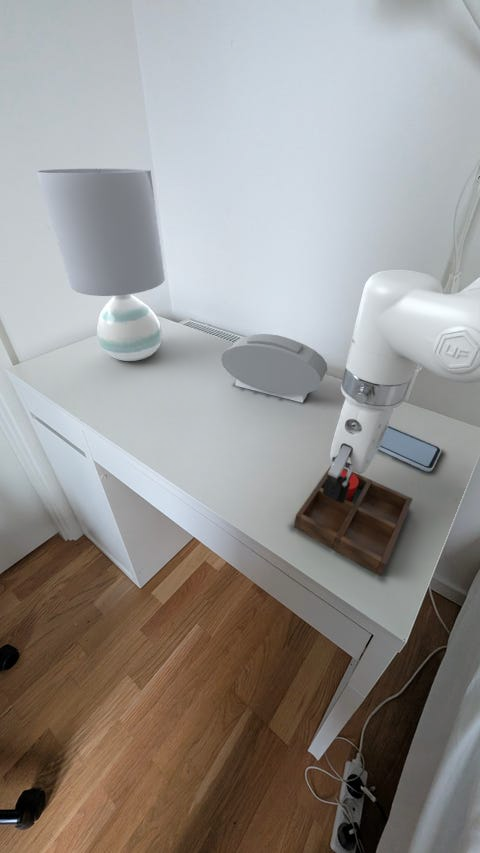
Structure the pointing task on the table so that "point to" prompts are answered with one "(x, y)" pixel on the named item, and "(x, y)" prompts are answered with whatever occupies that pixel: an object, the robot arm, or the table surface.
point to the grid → (356, 522)
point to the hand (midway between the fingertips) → (346, 477)
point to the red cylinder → (351, 485)
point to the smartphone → (410, 449)
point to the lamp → (110, 249)
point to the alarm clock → (275, 366)
